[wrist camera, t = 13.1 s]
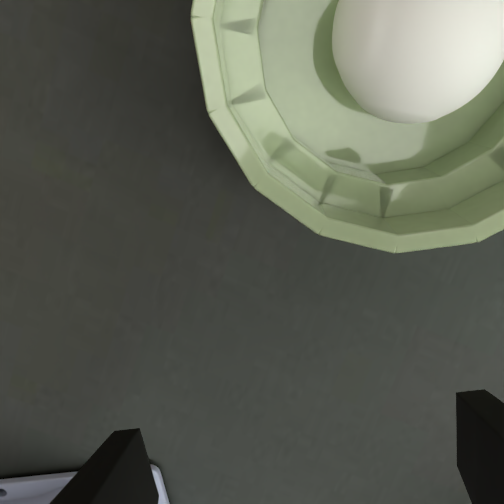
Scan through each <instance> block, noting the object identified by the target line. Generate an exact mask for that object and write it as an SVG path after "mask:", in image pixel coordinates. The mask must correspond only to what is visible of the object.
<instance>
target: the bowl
mask: <svg viewBox="0 0 504 504" xmlns="http://www.w3.org/2000/svg"><path fill="white" fill-rule="evenodd" d="M338 1H339V0H193V1H192V7H191V13H190V15H191V19H190V21H191V27H192V32H193V38H194V43H195V49H196V55H197V60H198V66H199V71H200V77H201V82H202V88H203V93H204V99H205V105H206V110H207V112H208V116H209V117H210V119H211V121H212V122H213V124H214V125H215V127H216V129H217V130H218V132H219V134H220V135H221V137H222V138H223V140H224V142H225V143H226V145H227V147H228V148H229V150H230V152H231V153H232V155H233V156H234V158H235V160H236V161H237V163H238V165H239V166H240V168H241V169H242V171H243V173H244V174H245V176H246V178H247V179H248V181H249V183H250V184H251V186H254V189H255V190H257V191H258V192H259V193H261V194H262V195H264V196H265V197H266V198H268V199H269V200H270V201H272V202H273V203H275V204H276V205H277V206H279V207H280V208H281V209H283V210H284V211H286V212H287V213H288V214H290V215H291V216H292V217H294V218H295V219H297V220H298V221H299V222H301V223H302V224H303V225H305V226H306V227H308V228H309V229H310V230H312V231H313V232H314V233H316V234H319V235H320V236H324V237H328V238H332V239H337V240H341V241H345V242H349V243H353V244H357V245H361V246H365V247H370V248H374V249H378V250H382V251H386V252H390V253H403V252H410V251H418V250H425V249H433V248H440V247H448V246H455V245H463V244H470V243H476V242H480V241H482V240H484V239H486V238H488V237H490V236H492V235H493V234H495V233H497V232H499V231H501V230H503V229H504V60H503V62H502V64H501V66H500V68H499V69H498V71H497V72H496V74H495V75H494V77H493V78H492V79H491V81H490V82H489V83H488V84H487V85H486V87H485V88H484V89H483V90H482V91H481V92H480V93H479V94H478V95H477V96H475V97H474V98H473V99H472V100H471V101H469V102H468V103H467V104H465V105H464V106H462V107H460V108H459V109H457V110H455V111H453V112H451V113H449V114H447V115H445V116H442V117H440V118H438V119H436V120H434V121H430V122H424V123H413V124H406V123H395V122H390V121H386V120H383V119H380V118H378V117H376V116H373V115H372V114H370V113H368V112H367V111H365V110H364V109H363V108H361V107H360V105H359V104H358V103H357V102H356V100H355V99H354V98H353V97H352V96H351V94H350V93H349V92H348V90H347V89H346V87H345V85H344V83H343V81H342V79H341V77H340V74H339V71H338V69H337V66H336V64H335V61H334V57H333V51H332V30H333V21H334V15H335V10H336V7H337V4H338Z"/></svg>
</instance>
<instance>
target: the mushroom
mask: <svg viewBox="0 0 504 504" xmlns="http://www.w3.org/2000/svg"><path fill="white" fill-rule="evenodd" d="M332 51H333V57H334V61H335V64H336V66H337V69H338V71H339V74H340V77H341V79H342V81H343V83H344V85H345V87H346V89H347V90H348V92H349V93H350V94H351V96H352V97H353V98H354V99H355V100H356V102H357V103H358V104H359V105H360V107H361V108H363V109H364V110H365V111H367V112H368V113H370V114H372V115H373V116H376V117H378V118H380V119H383V120H386V121H390V122H395V123H406V124H413V123H424V122H430V121H434V120H436V119H438V118H440V117H442V116H445V115H447V114H449V113H451V112H453V111H455V110H457V109H459V108H460V107H462V106H464V105H465V104H467V103H468V102H469V101H471V100H472V99H473V98H474V97H475V96H477V95H478V94H479V93H480V92H481V91H482V90H483V89H484V88H485V87H486V85H487V84H488V83H489V82H490V81H491V79H492V78H493V77H494V75H495V74H496V72H497V71H498V69H499V68H500V66H501V64H502V62H503V60H504V0H339V1H338V4H337V7H336V10H335V15H334V21H333V30H332Z"/></svg>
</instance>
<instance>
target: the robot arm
mask: <svg viewBox="0 0 504 504" xmlns="http://www.w3.org/2000/svg"><path fill="white" fill-rule="evenodd" d="M456 416H457V467H458V469H459V472H460V474H461V477H462V479H463V482H464V484H465V487H466V490H467V492H468V494H469V497H470V499H471V502H472V504H504V403H503V402H501V401H500V400H499V399H497V398H496V397H495V396H493V395H492V394H490V393H489V392H488V391H486V390H485V389H484V390H475V391H466V392H458V393H456ZM0 504H170V503H169V500H168V496H167V493H166V489H165V486H164V482H163V479H162V475H161V472H160V470H159V468H158V467H157V466H155V465H152V464H150V462H149V459H148V456H147V452H146V449H145V445H144V442H143V438H142V435H141V431H140V428H137V429H128V430H120V431H114V432H113V433H112V434H111V435H110V436H109V437H108V438H107V439H106V441H105V442H104V443H103V444H102V445H101V446H100V447H99V448H98V450H97V451H96V452H95V453H94V454H93V455H92V456H91V458H90V459H89V460H88V461H87V462H86V463H85V464H84V465H83V467H82V468H81V469H80V470H79V471H77V472H67V473H57V474H48V475H38V476H28V477H18V478H9V479H0Z"/></svg>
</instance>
